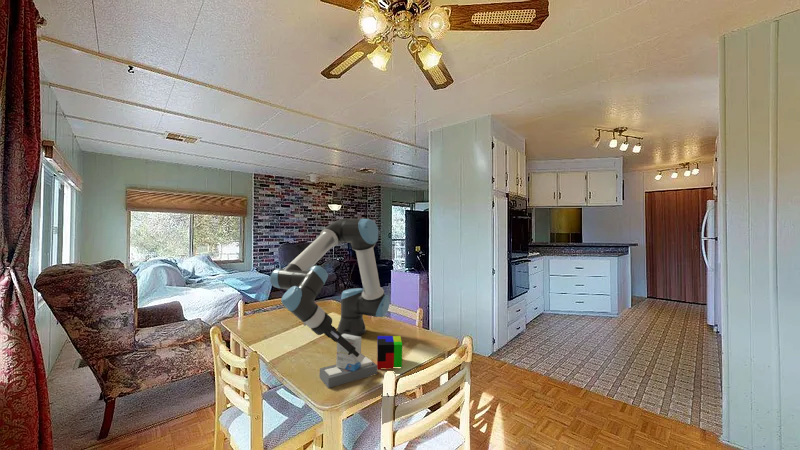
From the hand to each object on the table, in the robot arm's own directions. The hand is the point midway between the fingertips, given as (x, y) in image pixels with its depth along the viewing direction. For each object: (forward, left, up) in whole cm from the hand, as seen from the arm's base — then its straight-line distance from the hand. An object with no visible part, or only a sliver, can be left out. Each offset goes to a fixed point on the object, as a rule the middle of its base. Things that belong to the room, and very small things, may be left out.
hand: (356, 354), depth 123 cm
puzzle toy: (-16, -1, -8) cm, 18 cm away
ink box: (+3, 0, -4) cm, 5 cm away
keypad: (+3, 0, -8) cm, 8 cm away
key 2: (-3, 0, -6) cm, 6 cm away
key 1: (+9, 0, -7) cm, 11 cm away
